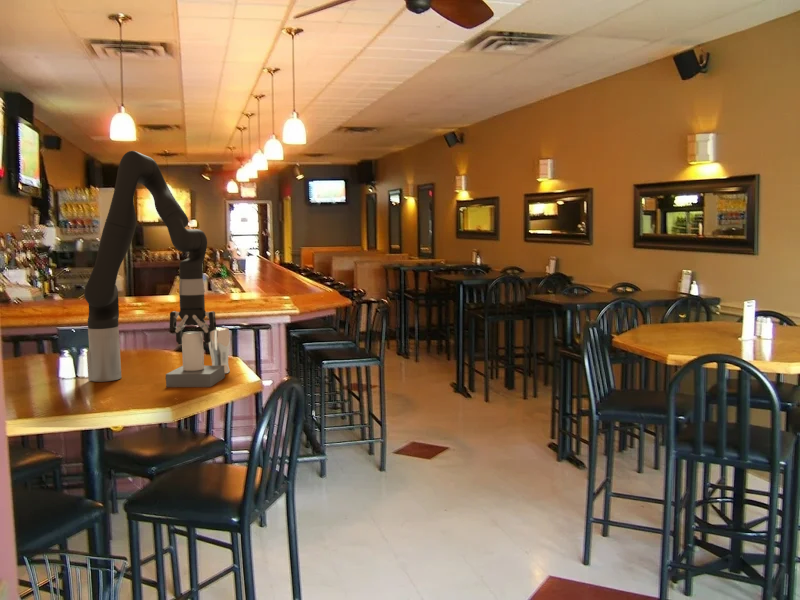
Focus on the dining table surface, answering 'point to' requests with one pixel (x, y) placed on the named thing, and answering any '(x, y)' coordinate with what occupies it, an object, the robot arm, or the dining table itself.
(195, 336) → the can
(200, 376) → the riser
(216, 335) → the beer glass
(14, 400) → the dining table surface
